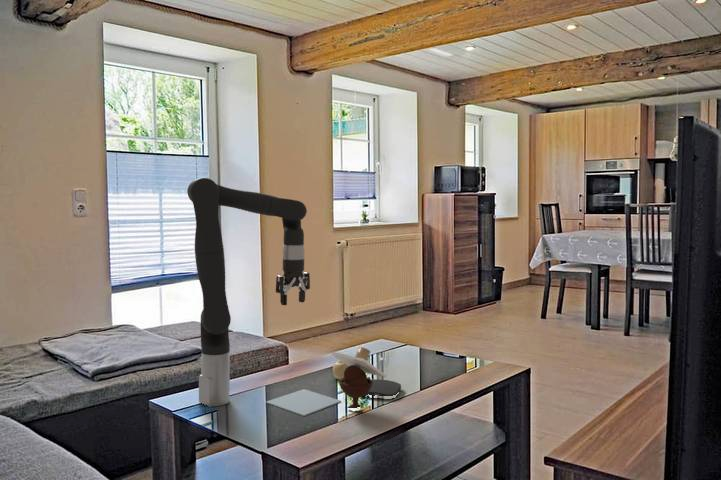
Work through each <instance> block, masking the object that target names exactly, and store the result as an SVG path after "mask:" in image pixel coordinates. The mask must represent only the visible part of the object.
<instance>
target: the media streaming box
mask: <svg viewBox="0 0 721 480" xmlns="http://www.w3.org/2000/svg"><path fill="white" fill-rule="evenodd" d="M371 380H372V381H373V384H372V387H371V389H370V390H369V391H368V392H367V393H366V394H365V395H364V396H366V395H368V394H369V395H373V396H375V395H379V396H393V395H396V394H397V393H398V392H399V391H400V389H401V390H402V384H401V383H399V382H396V381H393V380H387V379H378V378H376V379H371ZM400 392H401V391H400Z"/></svg>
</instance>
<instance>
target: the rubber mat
mask: <svg viewBox="0 0 721 480" xmlns="http://www.w3.org/2000/svg"><path fill="white" fill-rule="evenodd" d="M265 403H266V404H269V405H271V406H274V407H275V408H276V407H277V408H279V409H282V410H286V411H288V412H292V413H294V414H295V415H298V416H299V415H300V416H302V417H306V416H309V415H310V414H313V413H316V412H318V411H322V410H324V409H326V408H329V407H332V406H334V405H337V404H339V403H342V400H340V399H336V398H334V397H331V396H328V395H324V394H322V393H319V392H314V391H312V390H308V389H306V388H303V389H300V390H297V391H293V392H291V393H289V394H285V395H282V396H279V397H276V398H273V399H271V400H270V399H269V400H267V401H265Z"/></svg>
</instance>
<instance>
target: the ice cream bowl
mask: <svg viewBox="0 0 721 480" xmlns="http://www.w3.org/2000/svg"><path fill="white" fill-rule="evenodd" d="M367 376H368V375H367V373H365V372H364V371H363V370H362V369H361V368H360V367H358V366H357V365H351V366H349V367H347V368H346V369H345V371H344V377H343V378H342V379H341V380H338V383H339V386H340V390H341V391H342V392H343V393H344V394H345V395H346V396H348V397H350V398H352V404H351V405H349V406H348V407H347V408H357V407H360V405H361V404H359V399H360V398H363V397H362V396H364V395H365V394H366V393H367V392H368V391H369V390H370V389H371V387H372V384H373V381H372V380H373V379H371V378H368V377H367Z"/></svg>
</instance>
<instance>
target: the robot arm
mask: <svg viewBox="0 0 721 480" xmlns="http://www.w3.org/2000/svg"><path fill="white" fill-rule="evenodd" d="M186 193H187V196H188V198H189V200H190V202H192V205H193V206H192V207H193V211H194V216H195V235H194V236H195V237H194V256H195V257H194V259H195V266H196V267H195V268H196V271H197V275H198V280H199V283H200V284H199V285H200V286H201V292H202V300H203V301H202V304H203V306H202V307H203V308H202V311H201V314H200V347H201V349H200V350H201V356H200V357H201V361H200V362H201V370H200V371H201V372H200V373H201V374H199V375H198V403H199V402H200V403H199V404H201V403H202V404H201V405H203V404H204V406H206V405H207V406H206V407H209V408H211V407H218V406H219V407H220V406H225V405H226V404H229V402H230V381H231V380H230V374H231V373H230V369H231V368H230V365H231V364H230V359H231V358H230V354H231V353H230V350H231V349H230V347H231V345H230V338H229V337H230V336H229V335H230V333H229V332H230V331H229V327H230V325H231V321H232V320H231V318H232V317H231V314H230V310H229V304H228V299H227V298H228V297H227V293H226V263H225V262H226V260H225V259H226V258H225V250H224V244H223V243H224V242H223V236H222V229H221V225H220V206H221V207H228V208H233V209H237V210H241V211H245V212H249V213H254V214H258V215H263V216H267V217H268V216H269V217H278V218H281V221H282V228H283V248H282V271H283V275H276V278H275V279H276V280H275V293H277V294H279V295H280V296H279V297H280V301H279V302H280V304H281V306H288V292H289V290H291V288H294V287H297V289H298V290H299V291H298V302H299V303H305V301H306V292H307V290H310V289H311V281H310V280H311V278H310V277H311V276H310V273H309V272H305V247H304V246H305V233H304V229H303V228H302V220H304V218H305V217H306V216H307V212H308V211H307V206H306V205H305V204H304V202H302V201H300V200H295V199H292V198H291V199H290V198H284V197H278V196H275V195H272V194H266V193H263V192H262V193H261V192H256V191H250V190H243V189H242V190H241V189H236V188H229V187H226V186H223V185H220V184H218V183H216V182H215V181H214V180H213V179H211V178H208V177H198V178H196V179H194V180H193V181H191V182H190V183H189V184H188V187H187V191H186Z"/></svg>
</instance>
